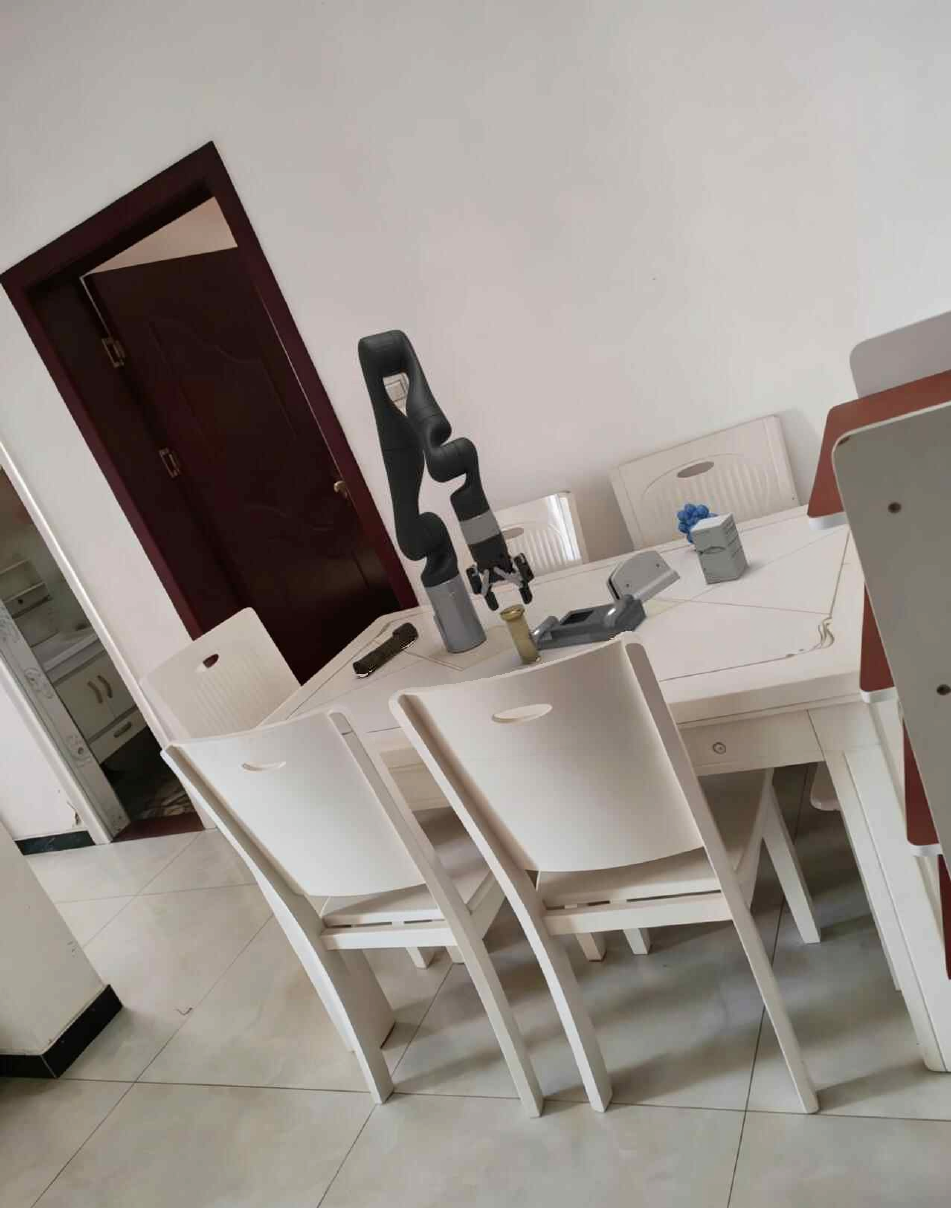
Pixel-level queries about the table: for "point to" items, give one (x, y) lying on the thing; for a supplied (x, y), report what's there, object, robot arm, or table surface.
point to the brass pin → (520, 633)
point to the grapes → (692, 518)
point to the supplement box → (719, 548)
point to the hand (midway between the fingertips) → (512, 606)
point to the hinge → (641, 576)
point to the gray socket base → (590, 624)
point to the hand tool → (386, 648)
